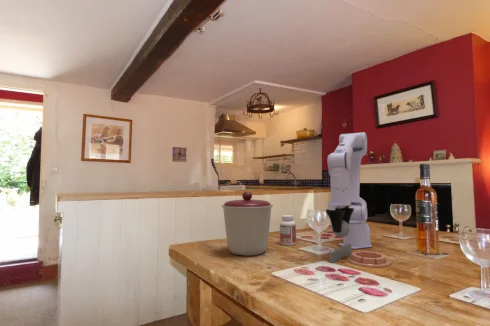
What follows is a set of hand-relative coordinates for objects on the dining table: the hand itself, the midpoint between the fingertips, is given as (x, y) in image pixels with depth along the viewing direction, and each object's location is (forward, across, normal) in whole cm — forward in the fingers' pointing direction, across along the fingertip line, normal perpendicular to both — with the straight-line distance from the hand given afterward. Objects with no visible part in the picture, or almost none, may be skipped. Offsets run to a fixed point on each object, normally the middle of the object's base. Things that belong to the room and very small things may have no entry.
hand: (340, 230), depth 95 cm
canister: (+9, +14, -28) cm, 32 cm away
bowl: (+8, 0, +8) cm, 12 cm away
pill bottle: (+9, -7, -24) cm, 27 cm away
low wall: (+8, 0, 0) cm, 8 cm away
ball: (-1, 0, 0) cm, 1 cm away
